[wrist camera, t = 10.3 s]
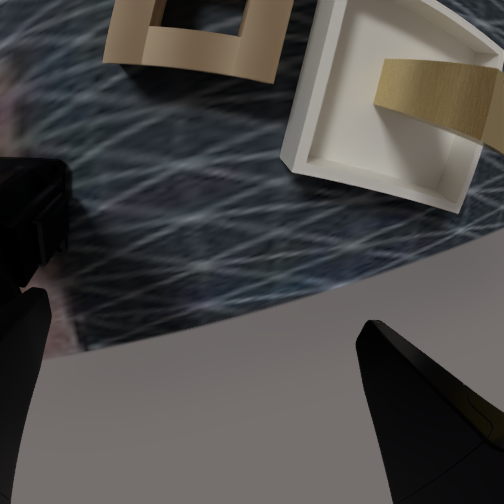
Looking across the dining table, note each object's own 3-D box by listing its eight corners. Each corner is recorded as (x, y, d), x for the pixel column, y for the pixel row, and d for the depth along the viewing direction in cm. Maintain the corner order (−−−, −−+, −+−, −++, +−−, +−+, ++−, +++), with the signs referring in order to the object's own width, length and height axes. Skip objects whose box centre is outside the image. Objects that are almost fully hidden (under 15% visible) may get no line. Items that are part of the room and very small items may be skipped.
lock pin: (372, 104, 17) (480, 140, 9) (384, 58, 15) (498, 68, 7) (411, 118, 17) (518, 163, 10) (422, 76, 16) (535, 101, 8)
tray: (279, 157, 18) (291, 172, 16) (325, -31, 12) (345, -45, 10) (434, 196, 21) (458, 213, 18) (476, 48, 15) (505, 51, 12)
